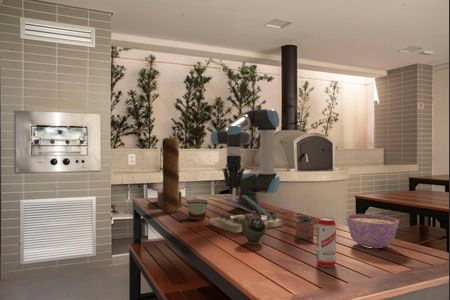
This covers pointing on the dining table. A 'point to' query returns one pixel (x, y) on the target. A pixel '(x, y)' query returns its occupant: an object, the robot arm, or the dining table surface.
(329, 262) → the beer can
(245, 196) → the teal strap
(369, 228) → the bowl of food
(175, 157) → the wafer roll
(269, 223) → the mount
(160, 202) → the tissue box cover
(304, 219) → the potted succulent
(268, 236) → the dining table surface
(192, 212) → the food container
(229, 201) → the charcoal strap
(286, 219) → the dining table surface
